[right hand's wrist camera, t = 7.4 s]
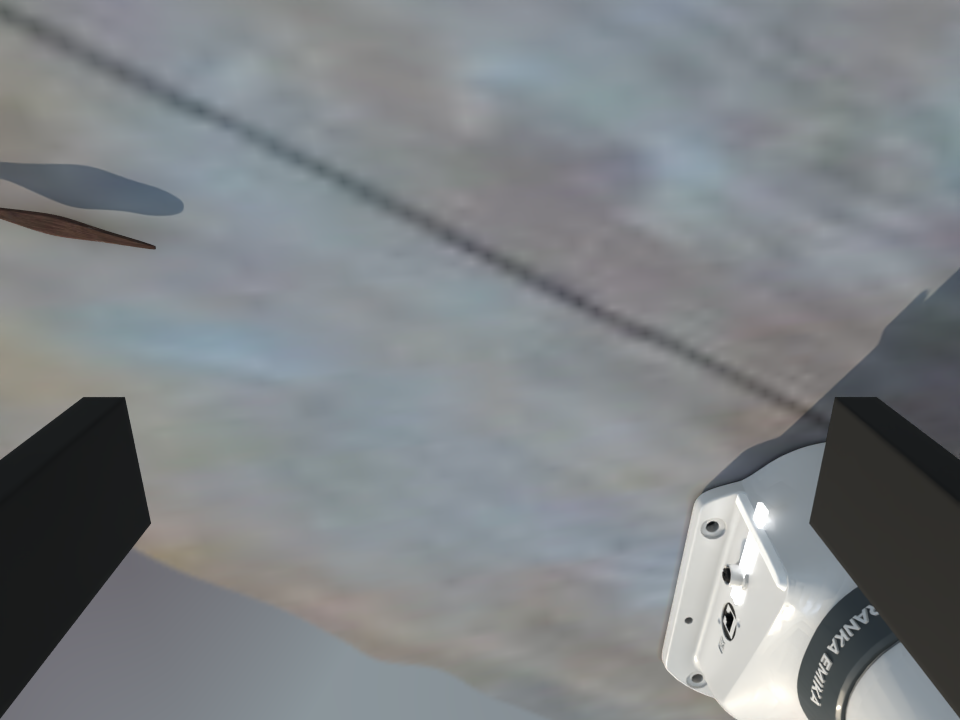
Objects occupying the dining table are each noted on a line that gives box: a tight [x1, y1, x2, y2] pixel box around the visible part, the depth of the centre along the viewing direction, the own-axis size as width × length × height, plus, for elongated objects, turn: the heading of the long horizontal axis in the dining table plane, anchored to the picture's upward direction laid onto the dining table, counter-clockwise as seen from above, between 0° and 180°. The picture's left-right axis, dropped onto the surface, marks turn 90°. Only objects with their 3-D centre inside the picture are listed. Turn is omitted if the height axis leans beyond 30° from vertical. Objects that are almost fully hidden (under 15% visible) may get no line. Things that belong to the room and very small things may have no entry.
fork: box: [0, 208, 156, 249], centre depth 38 cm, size 3×16×2 cm, turn 76°
